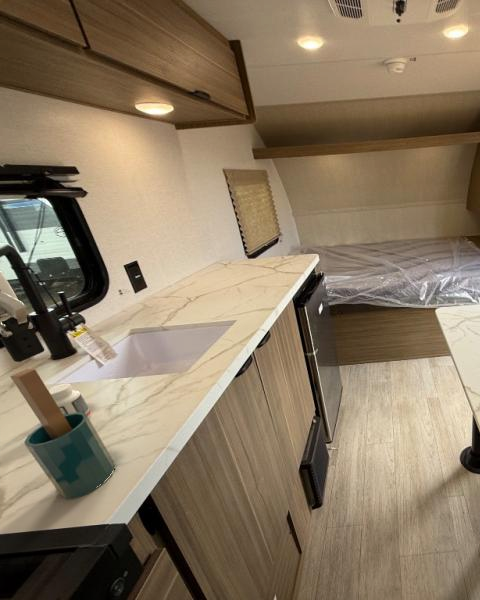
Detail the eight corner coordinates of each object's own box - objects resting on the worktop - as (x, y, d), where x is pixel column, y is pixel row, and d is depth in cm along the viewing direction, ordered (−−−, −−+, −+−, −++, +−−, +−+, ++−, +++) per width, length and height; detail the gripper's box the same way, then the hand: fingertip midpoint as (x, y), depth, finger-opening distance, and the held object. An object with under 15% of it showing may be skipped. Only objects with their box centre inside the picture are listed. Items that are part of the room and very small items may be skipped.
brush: (67, 483, 56) (-4, 379, 47) (92, 463, 59) (30, 364, 51) (83, 486, 55) (14, 381, 46) (108, 466, 58) (47, 365, 50)
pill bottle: (88, 409, 76) (71, 378, 72) (94, 417, 73) (76, 385, 70) (58, 423, 72) (38, 391, 68) (63, 432, 69) (42, 399, 66)
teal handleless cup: (50, 495, 55) (12, 443, 50) (96, 459, 61) (67, 410, 57) (81, 502, 53) (45, 449, 48) (125, 464, 60) (97, 414, 55)
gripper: (-155, 247, 39) (-68, 364, 46) (-68, 246, 35) (14, 374, 42) (-62, 234, 46) (2, 338, 52) (20, 232, 42) (79, 345, 48)
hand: (7, 354), depth 47 cm, fingers open, 9 cm apart
